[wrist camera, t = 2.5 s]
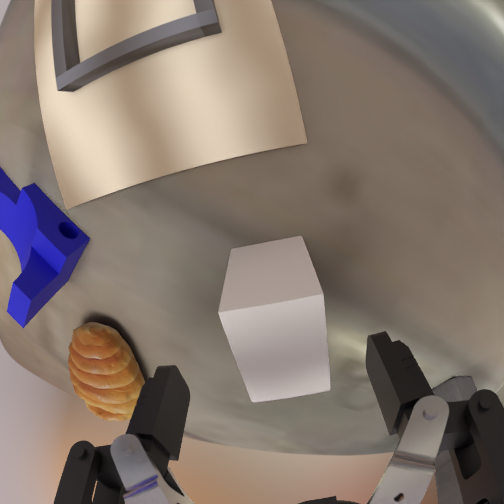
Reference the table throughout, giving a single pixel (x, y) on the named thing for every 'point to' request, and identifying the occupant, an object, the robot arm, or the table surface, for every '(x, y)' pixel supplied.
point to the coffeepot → (445, 473)
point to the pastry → (104, 371)
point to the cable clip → (37, 246)
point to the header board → (159, 88)
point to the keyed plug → (276, 320)
